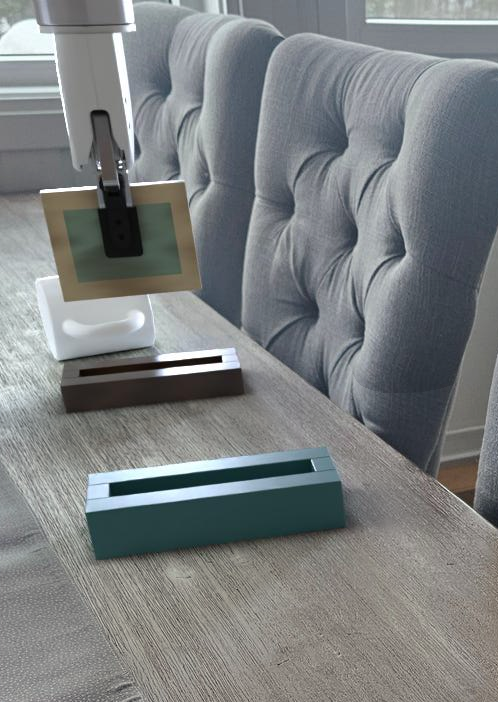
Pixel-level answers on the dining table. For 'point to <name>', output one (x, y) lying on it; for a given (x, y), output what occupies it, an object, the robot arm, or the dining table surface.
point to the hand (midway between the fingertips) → (124, 252)
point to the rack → (151, 380)
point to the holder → (213, 502)
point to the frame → (127, 272)
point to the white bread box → (93, 322)
